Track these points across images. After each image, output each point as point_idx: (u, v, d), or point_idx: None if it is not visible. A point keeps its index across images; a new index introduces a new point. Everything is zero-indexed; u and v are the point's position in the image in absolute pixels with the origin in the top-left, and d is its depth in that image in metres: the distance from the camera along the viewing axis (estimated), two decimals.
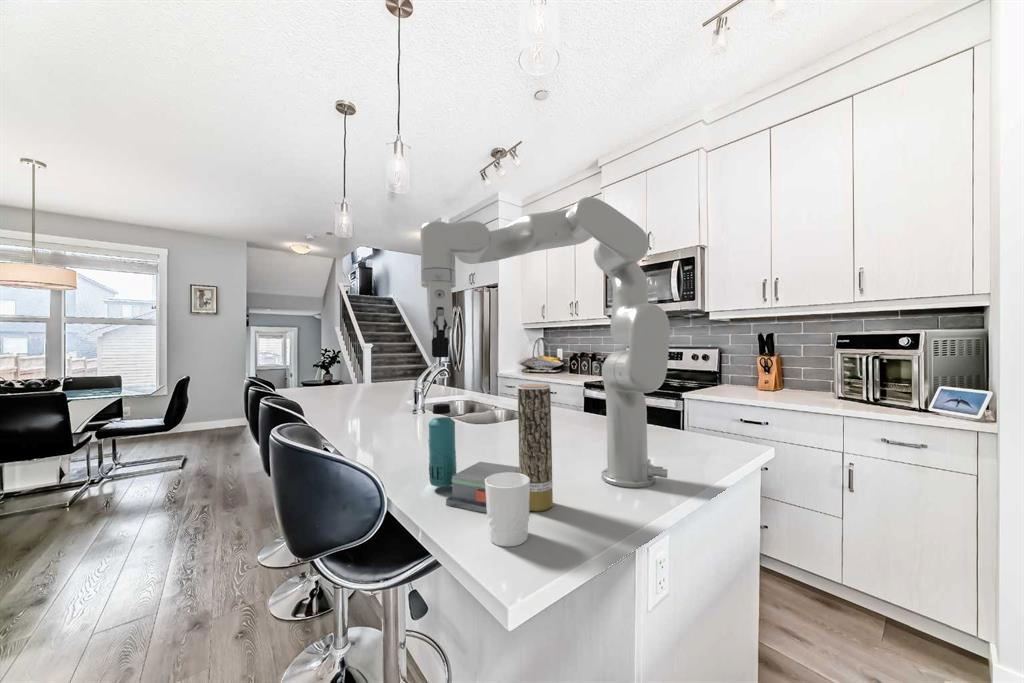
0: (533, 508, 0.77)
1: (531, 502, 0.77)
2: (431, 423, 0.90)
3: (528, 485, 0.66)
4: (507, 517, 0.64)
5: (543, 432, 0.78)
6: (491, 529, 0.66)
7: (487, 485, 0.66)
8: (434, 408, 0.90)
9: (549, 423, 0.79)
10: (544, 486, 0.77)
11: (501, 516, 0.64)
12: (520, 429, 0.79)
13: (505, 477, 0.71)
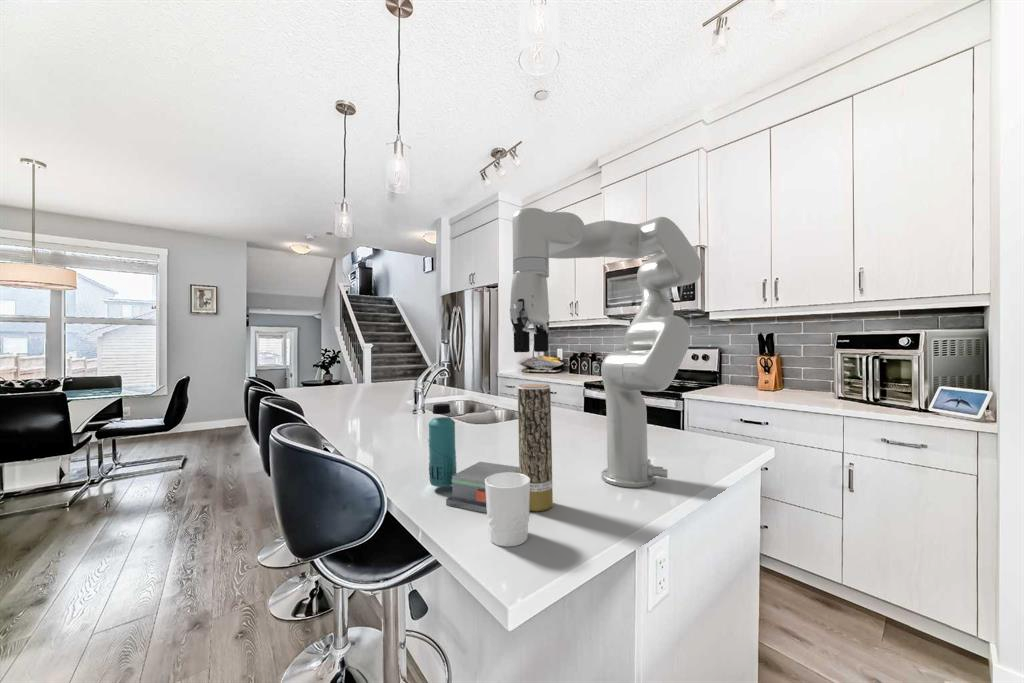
0: (533, 508, 0.77)
1: (531, 502, 0.77)
2: (431, 423, 0.90)
3: (528, 485, 0.66)
4: (507, 517, 0.64)
5: (543, 432, 0.78)
6: (491, 529, 0.66)
7: (487, 485, 0.66)
8: (434, 408, 0.90)
9: (549, 423, 0.79)
10: (544, 486, 0.77)
11: (501, 516, 0.64)
12: (520, 429, 0.79)
13: (505, 477, 0.71)
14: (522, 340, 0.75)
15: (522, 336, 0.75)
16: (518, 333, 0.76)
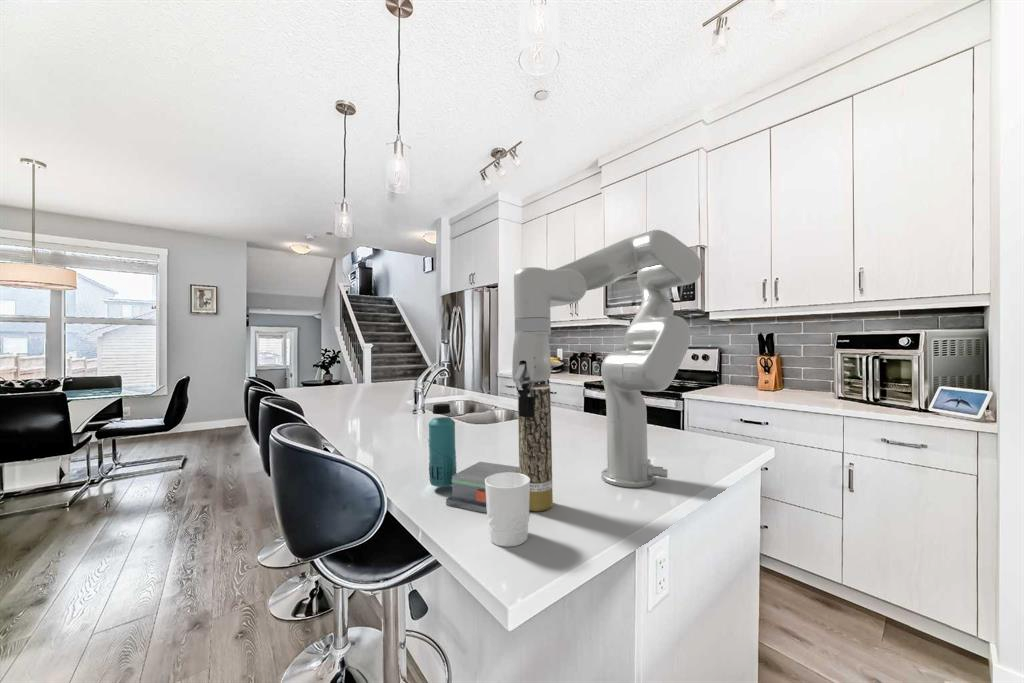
0: (533, 508, 0.77)
1: (531, 502, 0.77)
2: (431, 423, 0.90)
3: (528, 485, 0.66)
4: (507, 517, 0.64)
5: (543, 432, 0.78)
6: (491, 529, 0.66)
7: (487, 485, 0.66)
8: (434, 408, 0.90)
9: (549, 423, 0.79)
10: (544, 486, 0.77)
11: (501, 516, 0.64)
12: (520, 429, 0.79)
13: (505, 477, 0.71)
14: (527, 405, 0.76)
15: (527, 402, 0.76)
16: (523, 398, 0.77)
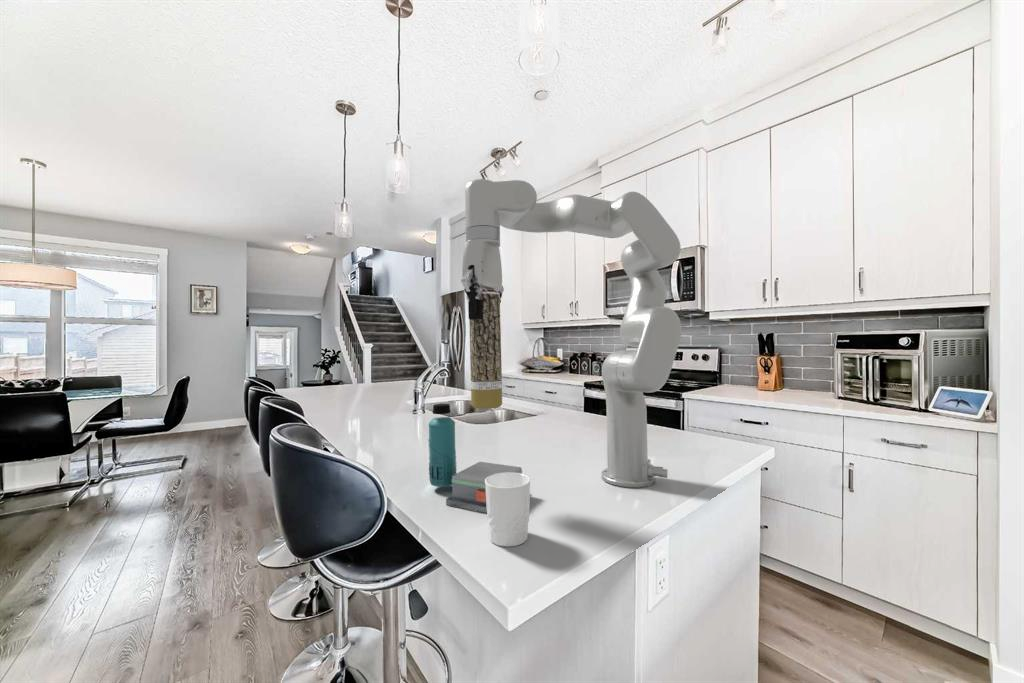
0: (482, 405, 0.82)
1: (480, 400, 0.82)
2: (431, 423, 0.90)
3: (528, 485, 0.66)
4: (507, 517, 0.64)
5: (491, 334, 0.82)
6: (491, 529, 0.66)
7: (487, 485, 0.66)
8: (434, 408, 0.90)
9: (498, 327, 0.83)
10: (492, 385, 0.82)
11: (501, 516, 0.64)
12: (470, 333, 0.84)
13: (505, 477, 0.71)
14: (475, 307, 0.81)
15: (475, 304, 0.81)
16: (472, 301, 0.81)
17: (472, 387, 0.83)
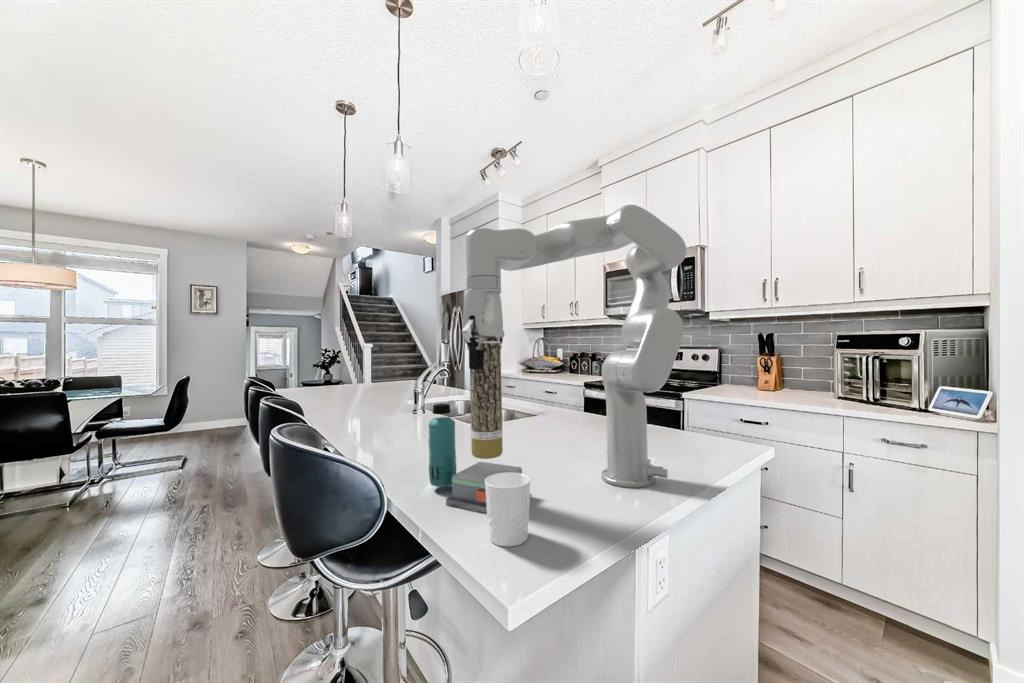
0: (482, 455, 0.81)
1: (480, 450, 0.82)
2: (431, 423, 0.90)
3: (528, 485, 0.66)
4: (507, 517, 0.64)
5: (492, 384, 0.82)
6: (491, 529, 0.66)
7: (487, 485, 0.66)
8: (434, 408, 0.90)
9: (498, 376, 0.83)
10: (492, 435, 0.82)
11: (501, 516, 0.64)
12: (471, 382, 0.83)
13: (505, 477, 0.71)
14: (476, 358, 0.81)
15: (476, 354, 0.81)
16: (472, 351, 0.81)
17: (472, 436, 0.83)
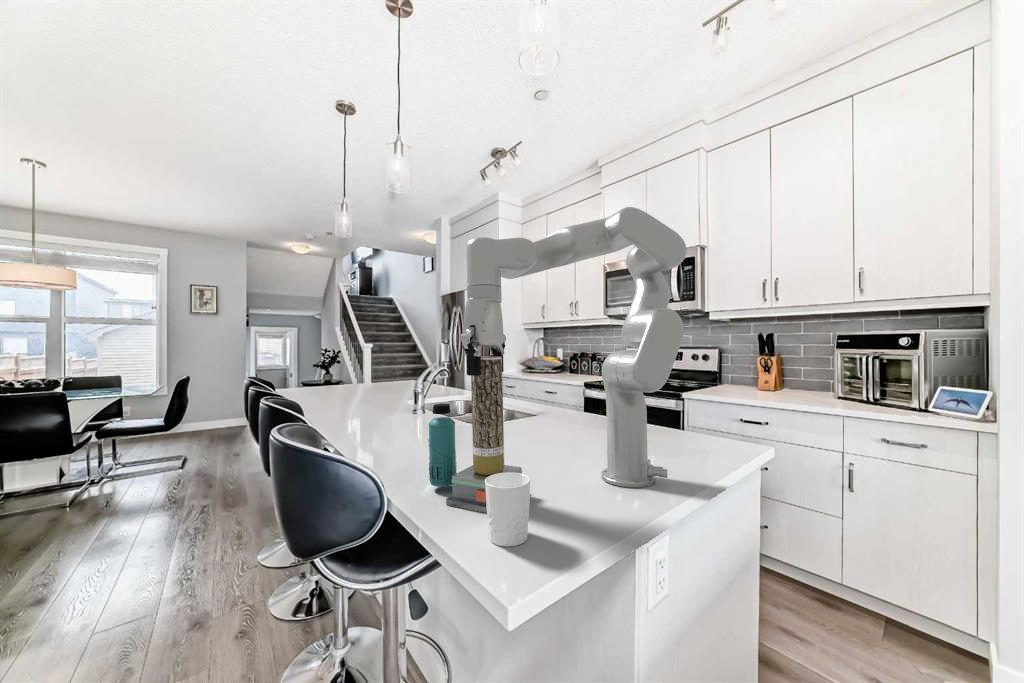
0: (484, 472, 0.81)
1: (482, 466, 0.82)
2: (431, 423, 0.90)
3: (528, 485, 0.66)
4: (507, 517, 0.64)
5: (493, 400, 0.82)
6: (491, 529, 0.65)
7: (487, 485, 0.66)
8: (434, 408, 0.90)
9: (500, 392, 0.83)
10: (494, 451, 0.82)
11: (501, 516, 0.64)
12: (472, 398, 0.83)
13: (505, 477, 0.71)
14: (473, 364, 0.80)
15: (473, 360, 0.80)
16: (470, 358, 0.80)
17: (474, 452, 0.83)
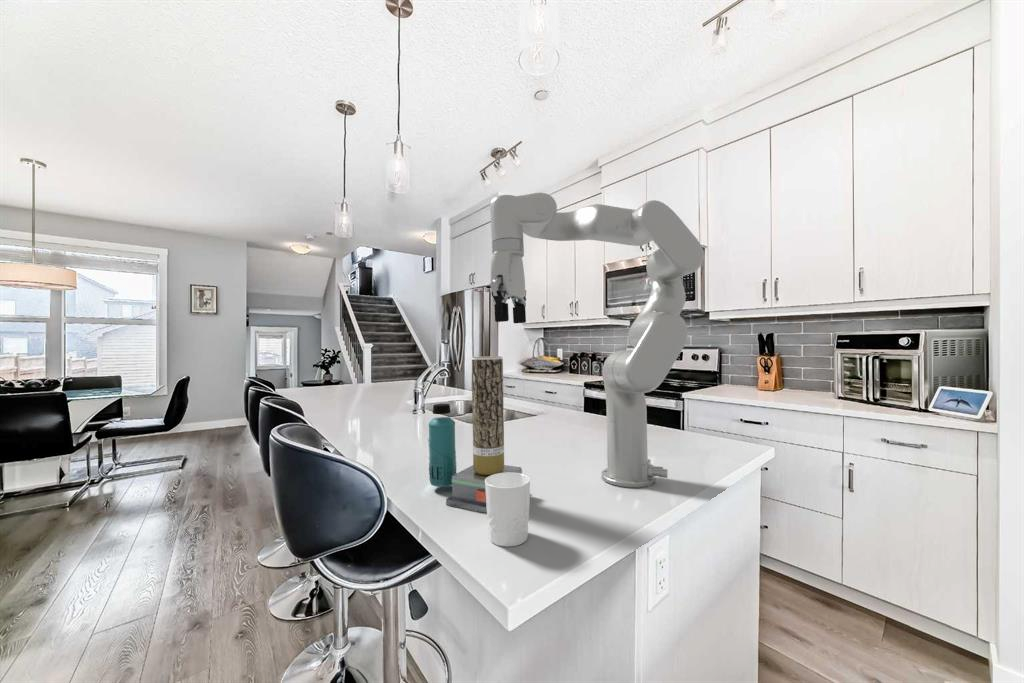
0: (484, 472, 0.81)
1: (482, 466, 0.82)
2: (431, 423, 0.90)
3: (528, 485, 0.66)
4: (507, 517, 0.64)
5: (494, 400, 0.82)
6: (491, 529, 0.66)
7: (487, 485, 0.66)
8: (434, 408, 0.90)
9: (500, 392, 0.83)
10: (494, 451, 0.82)
11: (501, 516, 0.64)
12: (473, 398, 0.83)
13: (505, 477, 0.71)
14: (502, 310, 0.86)
15: (502, 307, 0.86)
16: (498, 305, 0.86)
17: (474, 452, 0.83)
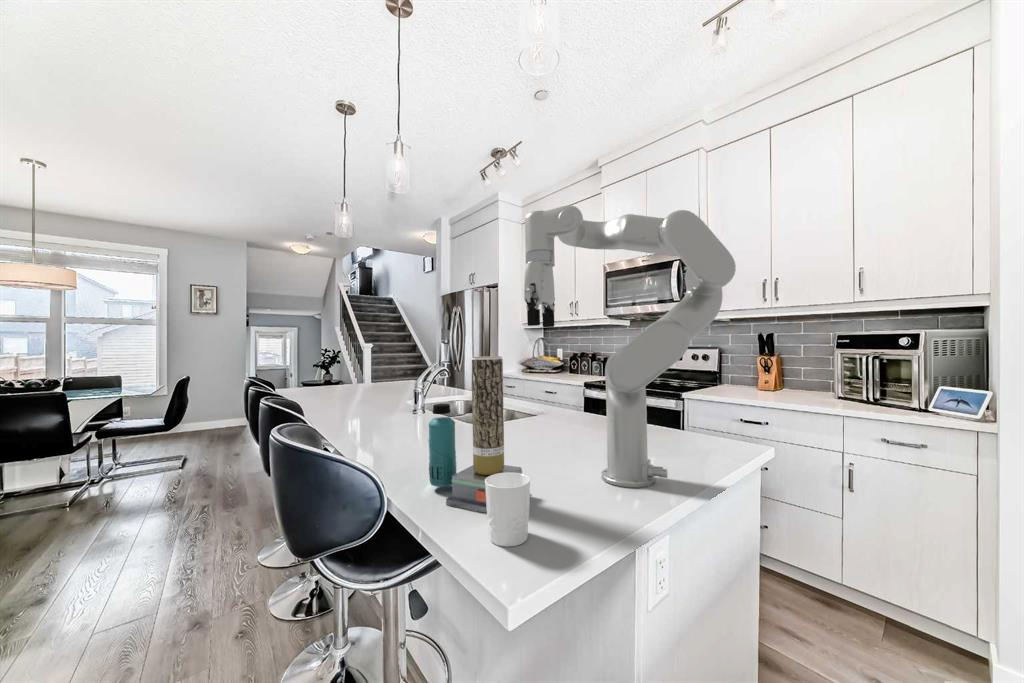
0: (484, 472, 0.81)
1: (482, 466, 0.82)
2: (431, 423, 0.90)
3: (528, 485, 0.66)
4: (507, 517, 0.64)
5: (494, 400, 0.82)
6: (491, 529, 0.66)
7: (487, 485, 0.66)
8: (434, 408, 0.90)
9: (500, 392, 0.83)
10: (494, 451, 0.82)
11: (501, 516, 0.64)
12: (473, 398, 0.83)
13: (505, 477, 0.71)
14: (534, 316, 0.95)
15: (534, 312, 0.95)
16: (531, 310, 0.96)
17: (474, 452, 0.83)
